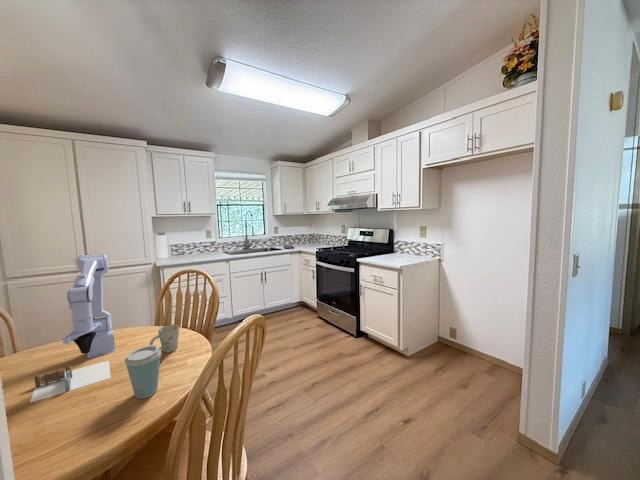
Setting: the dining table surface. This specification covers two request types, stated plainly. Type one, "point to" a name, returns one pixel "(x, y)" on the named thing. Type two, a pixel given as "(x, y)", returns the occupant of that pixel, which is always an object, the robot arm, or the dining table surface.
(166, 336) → the mug
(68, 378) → the fence folding panel
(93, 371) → the card
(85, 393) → the dining table surface
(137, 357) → the disposable coffee cup
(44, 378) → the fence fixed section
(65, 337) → the robot arm
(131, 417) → the dining table surface
